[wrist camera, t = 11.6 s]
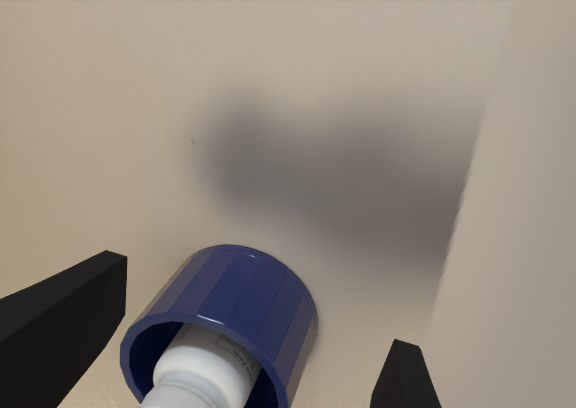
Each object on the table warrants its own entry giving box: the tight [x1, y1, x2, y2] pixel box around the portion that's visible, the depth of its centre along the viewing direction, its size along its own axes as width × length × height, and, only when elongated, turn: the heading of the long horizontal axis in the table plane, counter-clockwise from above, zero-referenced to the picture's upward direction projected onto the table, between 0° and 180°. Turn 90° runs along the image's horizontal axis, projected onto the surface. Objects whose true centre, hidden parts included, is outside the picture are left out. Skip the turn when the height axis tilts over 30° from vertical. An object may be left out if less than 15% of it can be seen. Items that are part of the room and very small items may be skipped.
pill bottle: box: [139, 322, 262, 408], centre depth 23 cm, size 4×4×8 cm
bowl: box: [120, 245, 317, 408], centre depth 25 cm, size 8×8×6 cm
